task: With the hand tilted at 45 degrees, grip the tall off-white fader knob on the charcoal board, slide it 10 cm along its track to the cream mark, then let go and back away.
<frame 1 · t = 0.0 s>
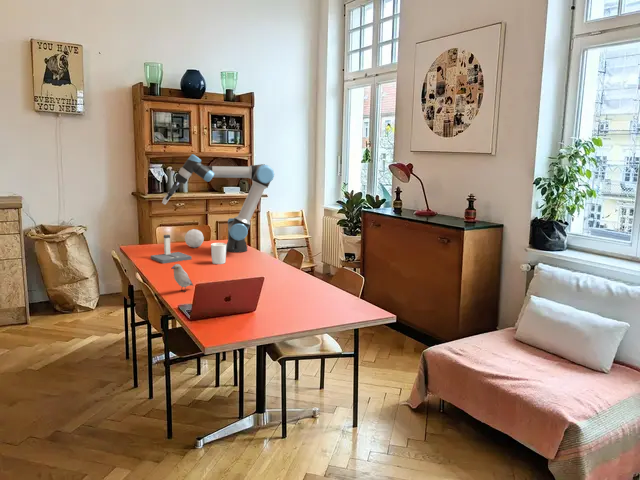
hand: (163, 202, 347), 36 cm above the table, tool tilted 35°, fingers open, 13 cm apart
candle holder: (218, 263, 340), on the table
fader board: (171, 259, 347), on the table
bird: (182, 291, 275), on the table
fader knob: (167, 244, 349), point 9 cm above the table, slide at -5.0 cm
geodesic sphere: (194, 247, 385), on the table
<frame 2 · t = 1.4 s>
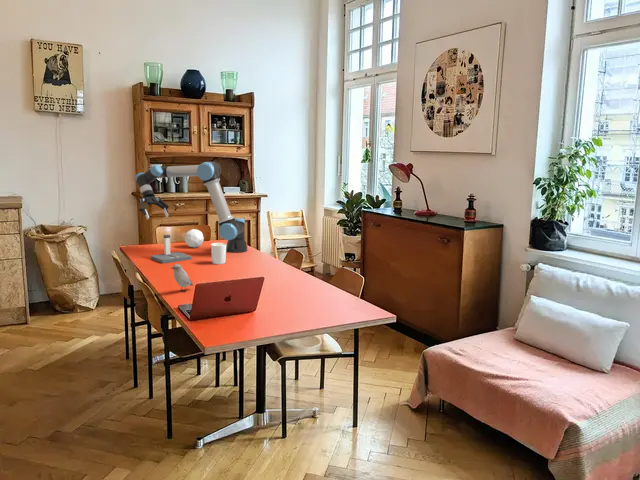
hand: (158, 217, 354), 25 cm above the table, tool tilted 45°, fingers open, 13 cm apart
nothing on the table moved.
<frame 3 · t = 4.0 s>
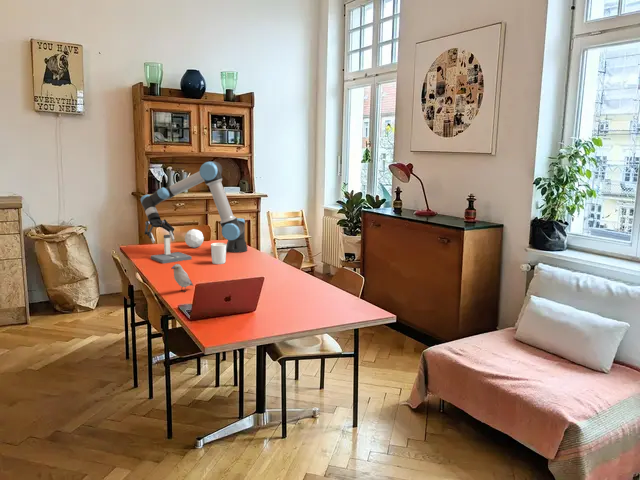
hand: (163, 240, 350), 11 cm above the table, tool tilted 45°, fingers open, 13 cm apart
nothing on the table moved.
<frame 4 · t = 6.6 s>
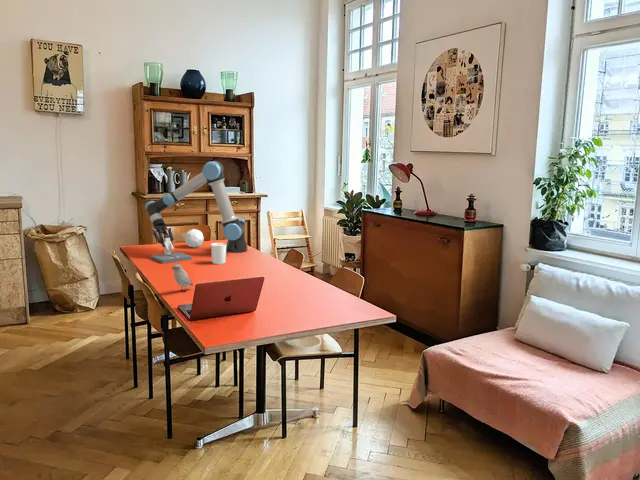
hand: (170, 250, 346), 6 cm above the table, tool tilted 45°, fingers closed on fader knob, 3 cm apart
fader knob: (167, 244, 349), point 9 cm above the table, slide at -5.0 cm, touching gripper
everything else where it was.
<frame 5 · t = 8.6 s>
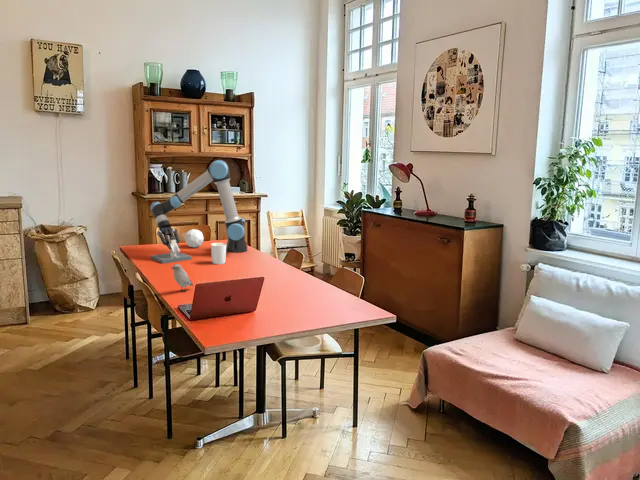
hand: (176, 252, 341), 6 cm above the table, tool tilted 45°, fingers closed on fader knob, 3 cm apart
fader knob: (173, 246, 343), point 9 cm above the table, slide at 3.1 cm, touching gripper
everything else where it was.
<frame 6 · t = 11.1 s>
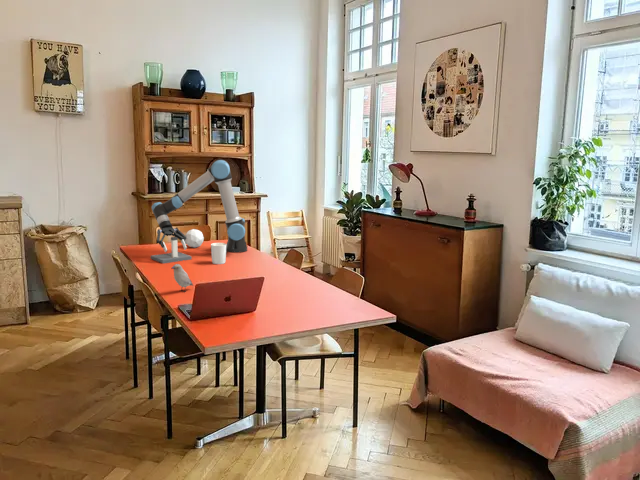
hand: (176, 249, 340), 7 cm above the table, tool tilted 45°, fingers open, 13 cm apart
fader knob: (174, 247, 341), point 9 cm above the table, slide at 5.0 cm
everything else where it was.
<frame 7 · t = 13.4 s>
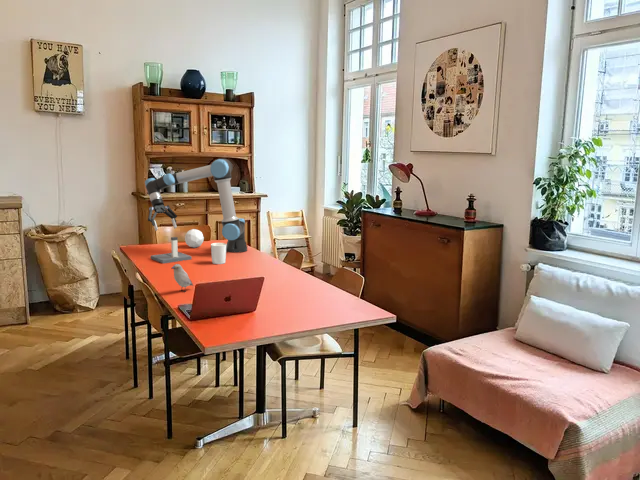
hand: (166, 228, 352), 18 cm above the table, tool tilted 35°, fingers open, 13 cm apart
nothing on the table moved.
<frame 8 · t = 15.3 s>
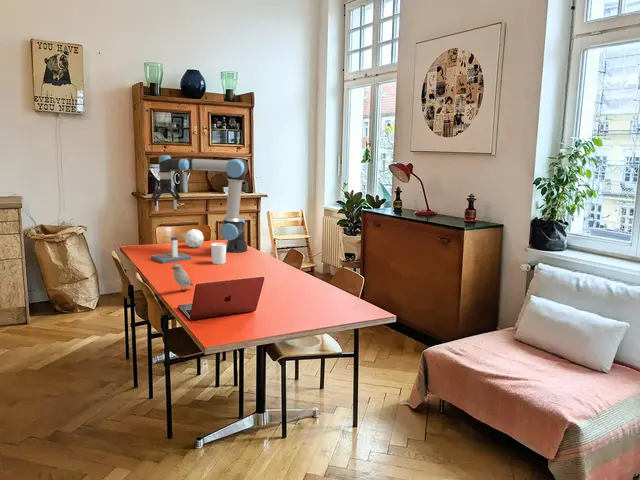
hand: (166, 210, 364), 29 cm above the table, tool pointing down, fingers open, 13 cm apart
nothing on the table moved.
at the end: fader knob slide at 5.0 cm; the gripper is holding nothing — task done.
